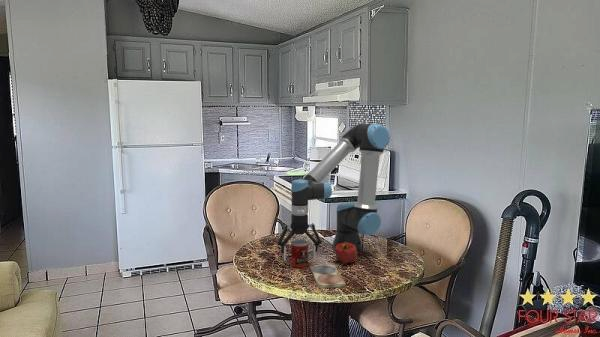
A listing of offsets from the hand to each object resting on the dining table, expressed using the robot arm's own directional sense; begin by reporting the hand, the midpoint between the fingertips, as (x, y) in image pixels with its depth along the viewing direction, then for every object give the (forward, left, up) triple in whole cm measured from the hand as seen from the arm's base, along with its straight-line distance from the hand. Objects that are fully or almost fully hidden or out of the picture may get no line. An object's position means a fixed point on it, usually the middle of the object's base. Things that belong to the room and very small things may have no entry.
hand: (299, 259), depth 194 cm
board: (-10, +16, -3) cm, 19 cm away
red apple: (-22, -1, -3) cm, 22 cm away
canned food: (0, 0, -3) cm, 3 cm away
